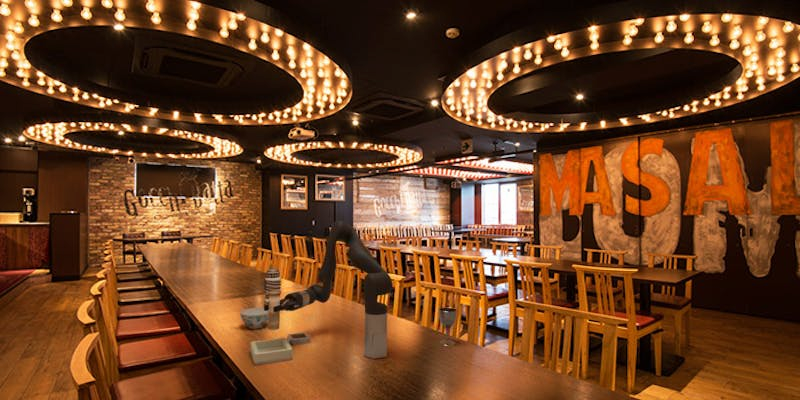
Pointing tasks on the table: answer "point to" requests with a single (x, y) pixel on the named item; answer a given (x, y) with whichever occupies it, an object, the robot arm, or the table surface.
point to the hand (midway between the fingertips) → (269, 308)
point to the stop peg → (272, 316)
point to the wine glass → (447, 322)
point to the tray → (271, 351)
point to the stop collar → (298, 338)
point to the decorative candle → (271, 282)
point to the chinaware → (254, 317)
